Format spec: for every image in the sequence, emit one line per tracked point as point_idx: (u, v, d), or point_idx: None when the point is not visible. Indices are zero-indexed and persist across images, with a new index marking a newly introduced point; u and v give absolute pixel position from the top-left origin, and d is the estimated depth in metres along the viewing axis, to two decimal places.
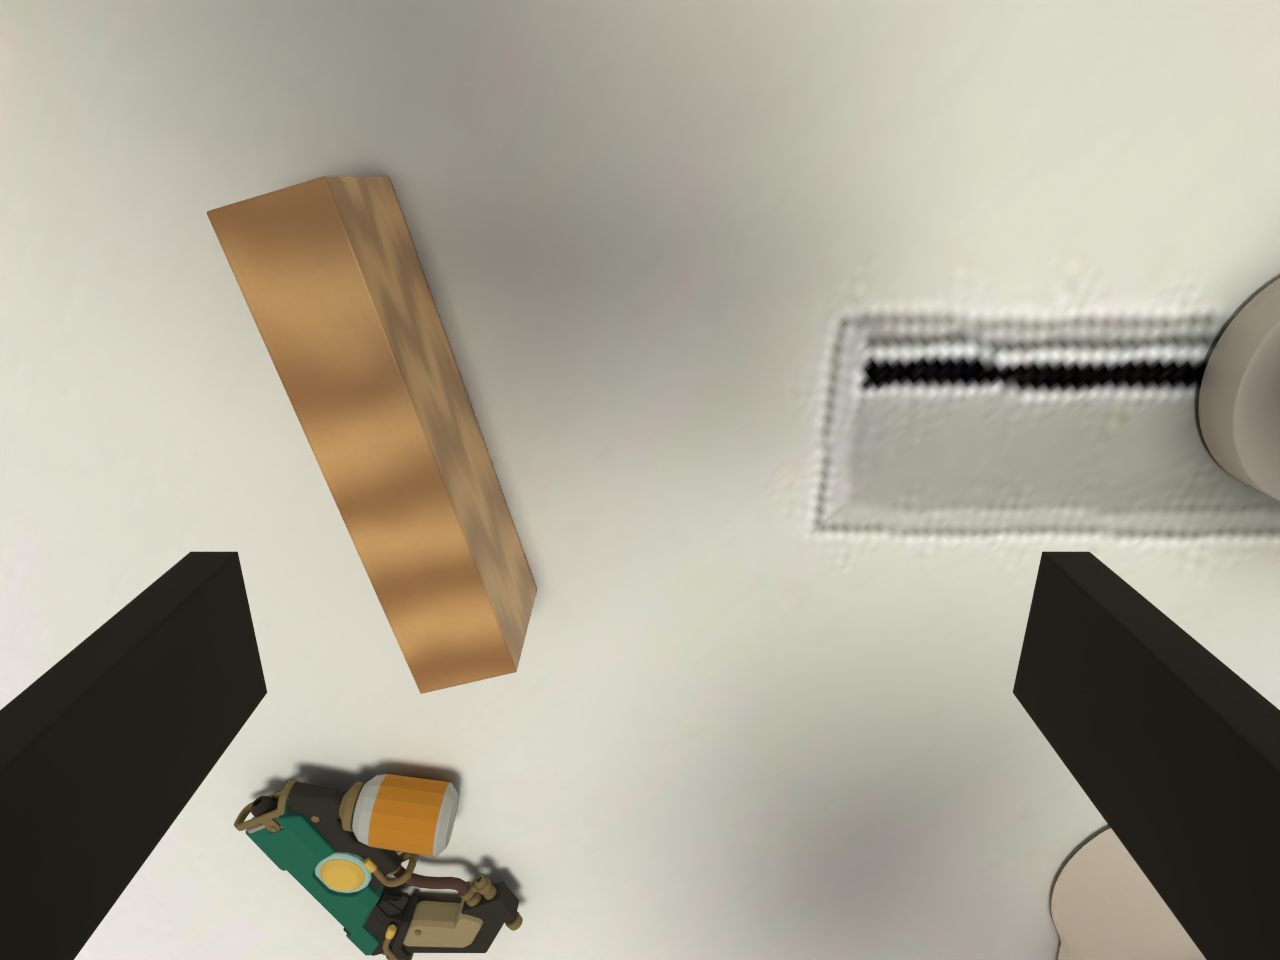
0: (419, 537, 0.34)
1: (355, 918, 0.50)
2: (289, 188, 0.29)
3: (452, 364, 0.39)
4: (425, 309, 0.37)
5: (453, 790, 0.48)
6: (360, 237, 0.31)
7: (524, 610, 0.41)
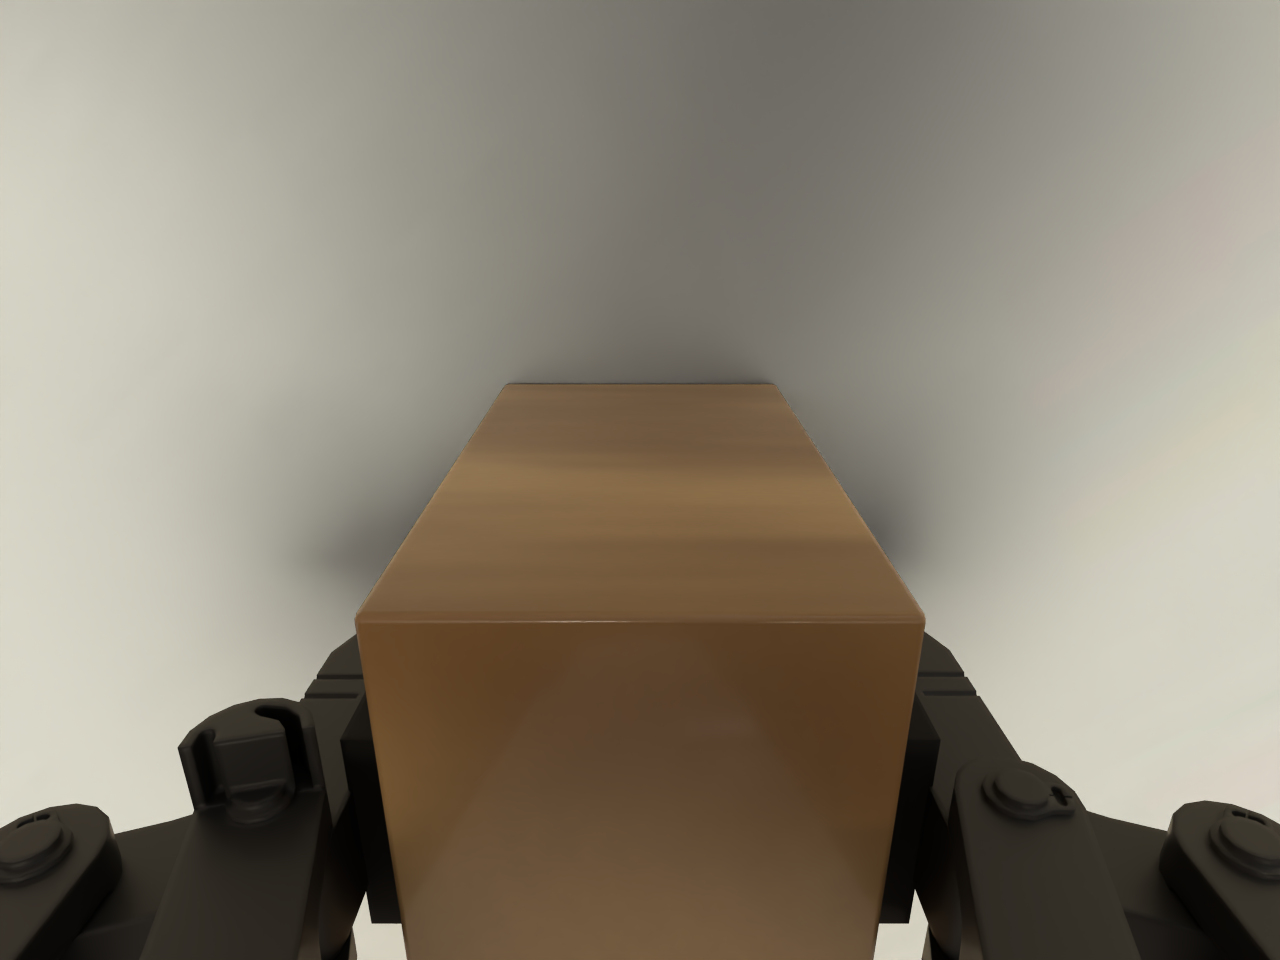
0: None
1: None
2: (754, 623, 0.07)
3: None
4: None
5: None
6: None
7: None
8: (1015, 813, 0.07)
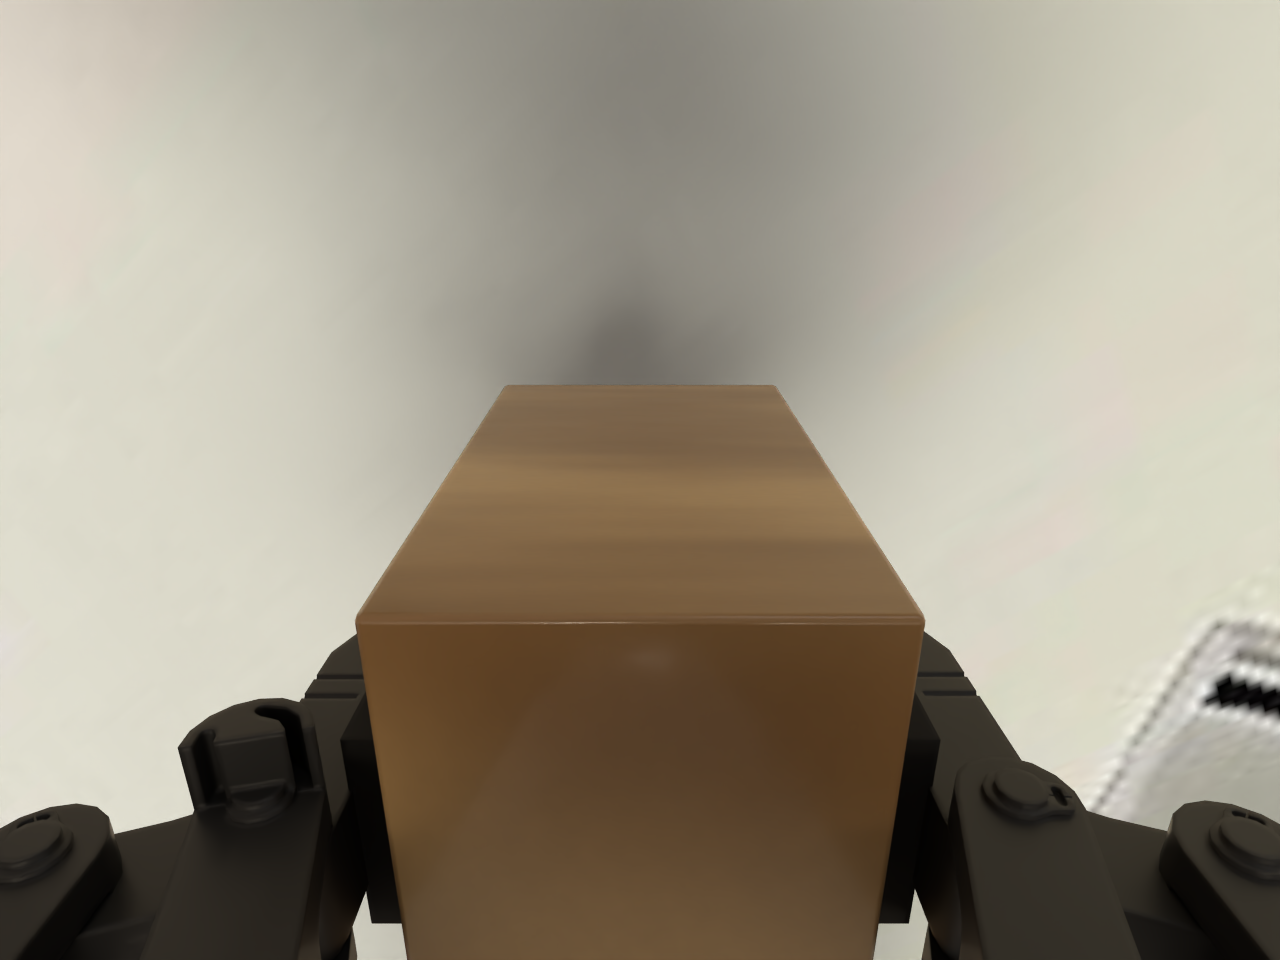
0: None
1: None
2: (752, 624, 0.07)
3: None
4: None
5: None
6: None
7: None
8: (1014, 815, 0.07)
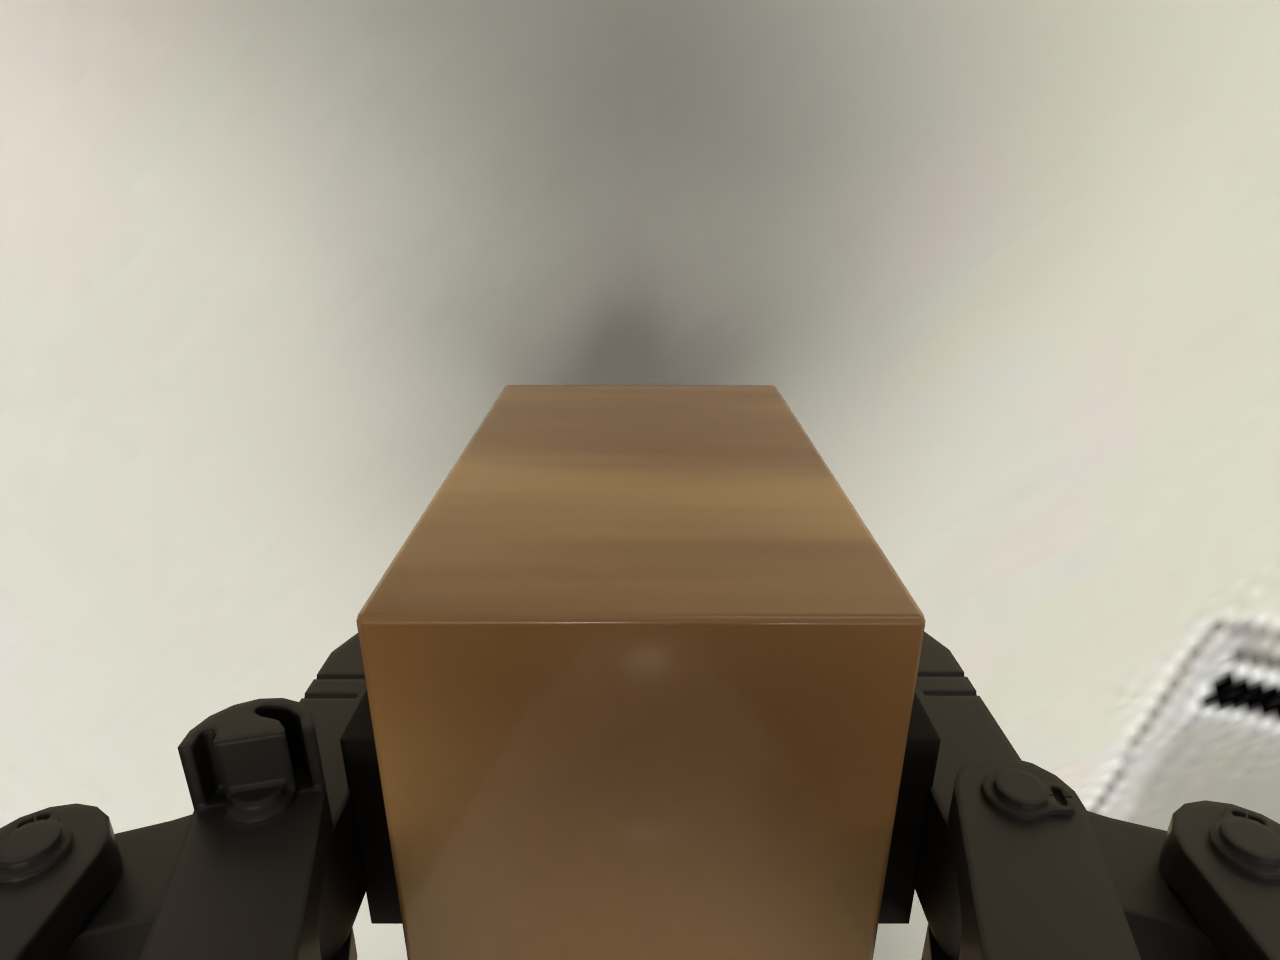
0: None
1: None
2: (753, 625, 0.07)
3: None
4: None
5: None
6: None
7: None
8: (1014, 815, 0.07)
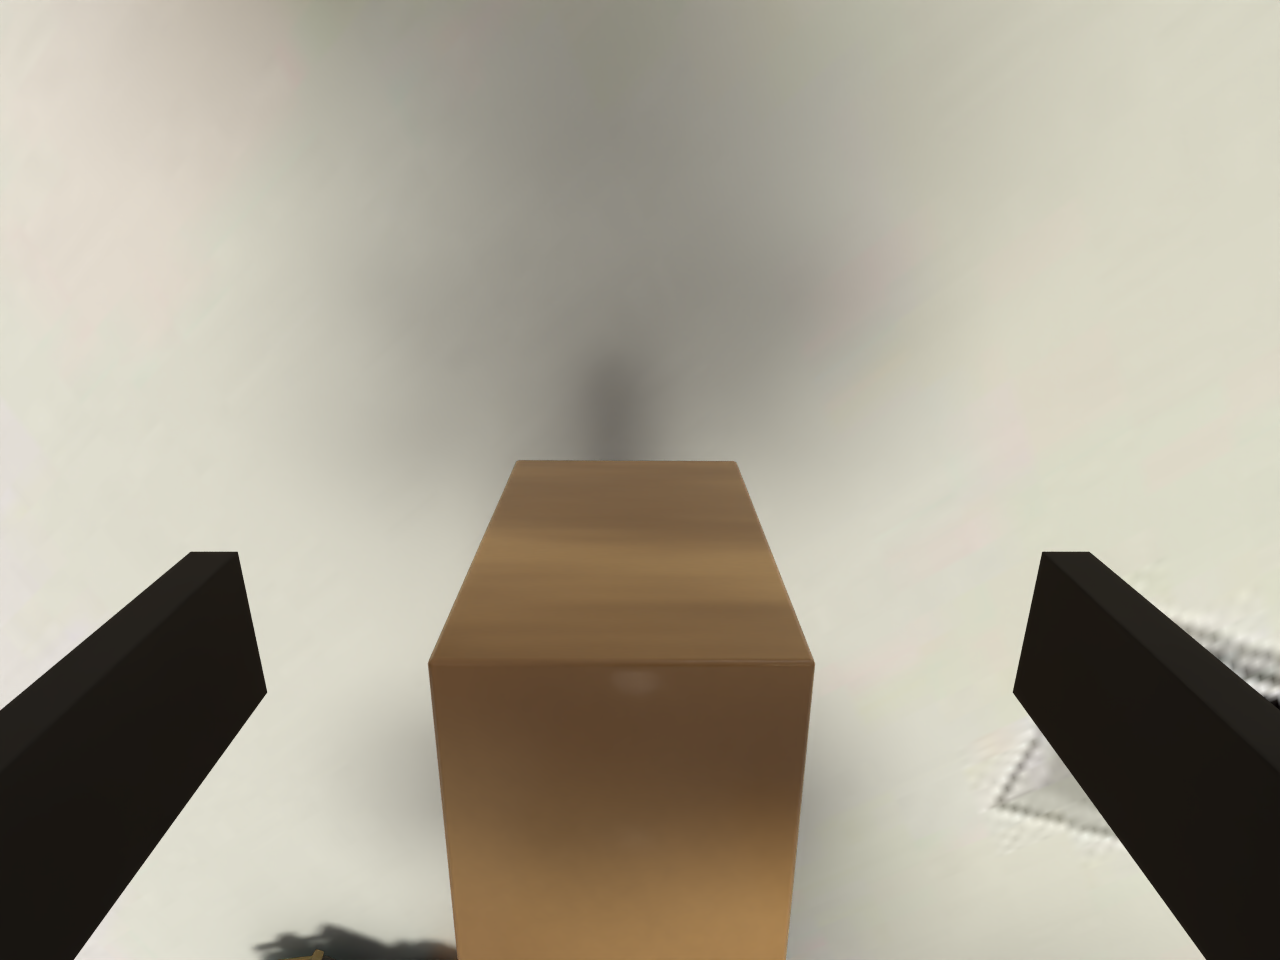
0: None
1: None
2: (697, 667, 0.10)
3: None
4: None
5: None
6: None
7: None
8: None
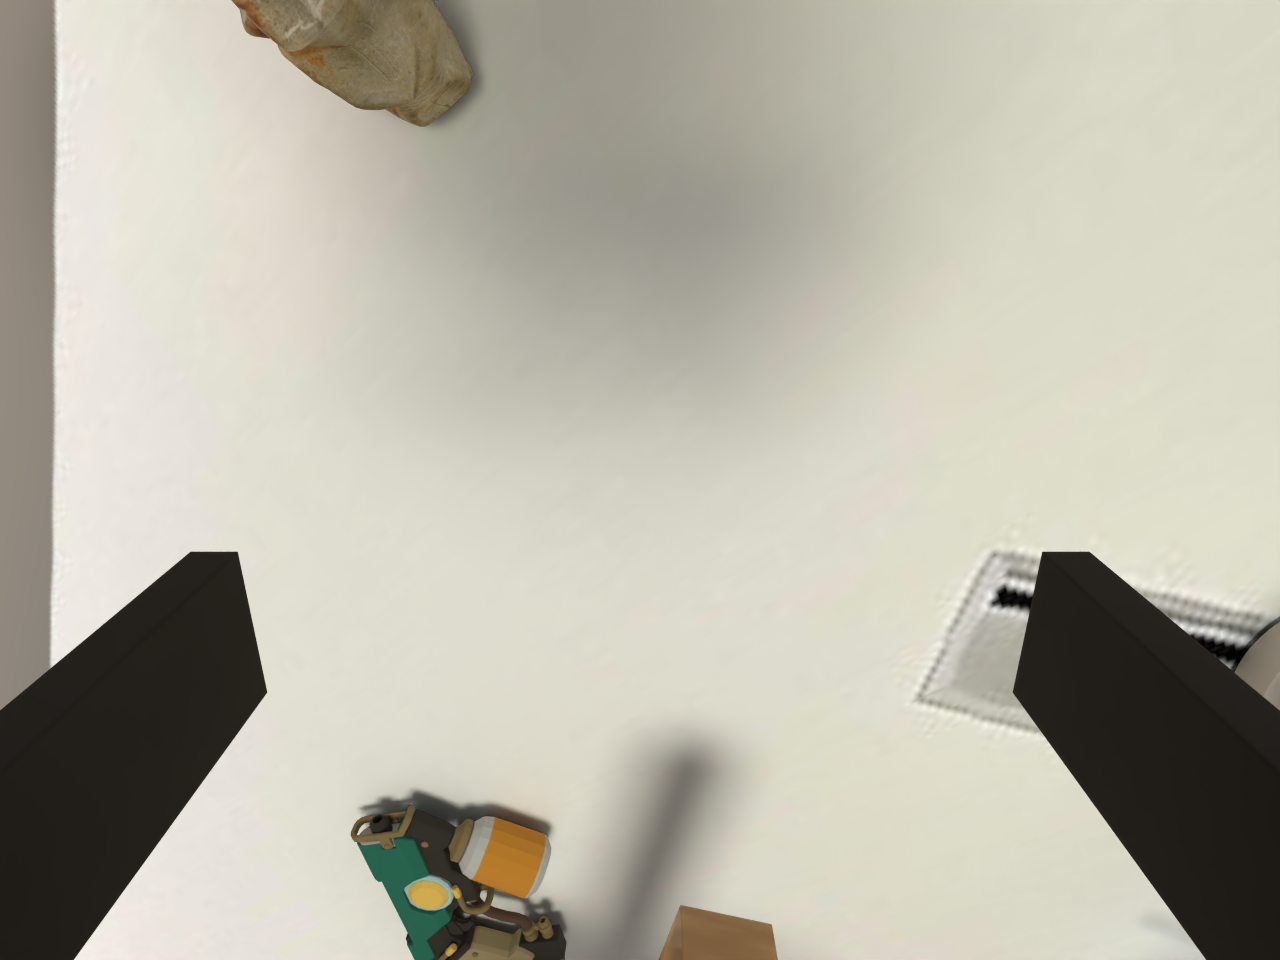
0: None
1: (424, 932, 0.56)
2: None
3: None
4: None
5: (549, 843, 0.54)
6: None
7: None
8: None
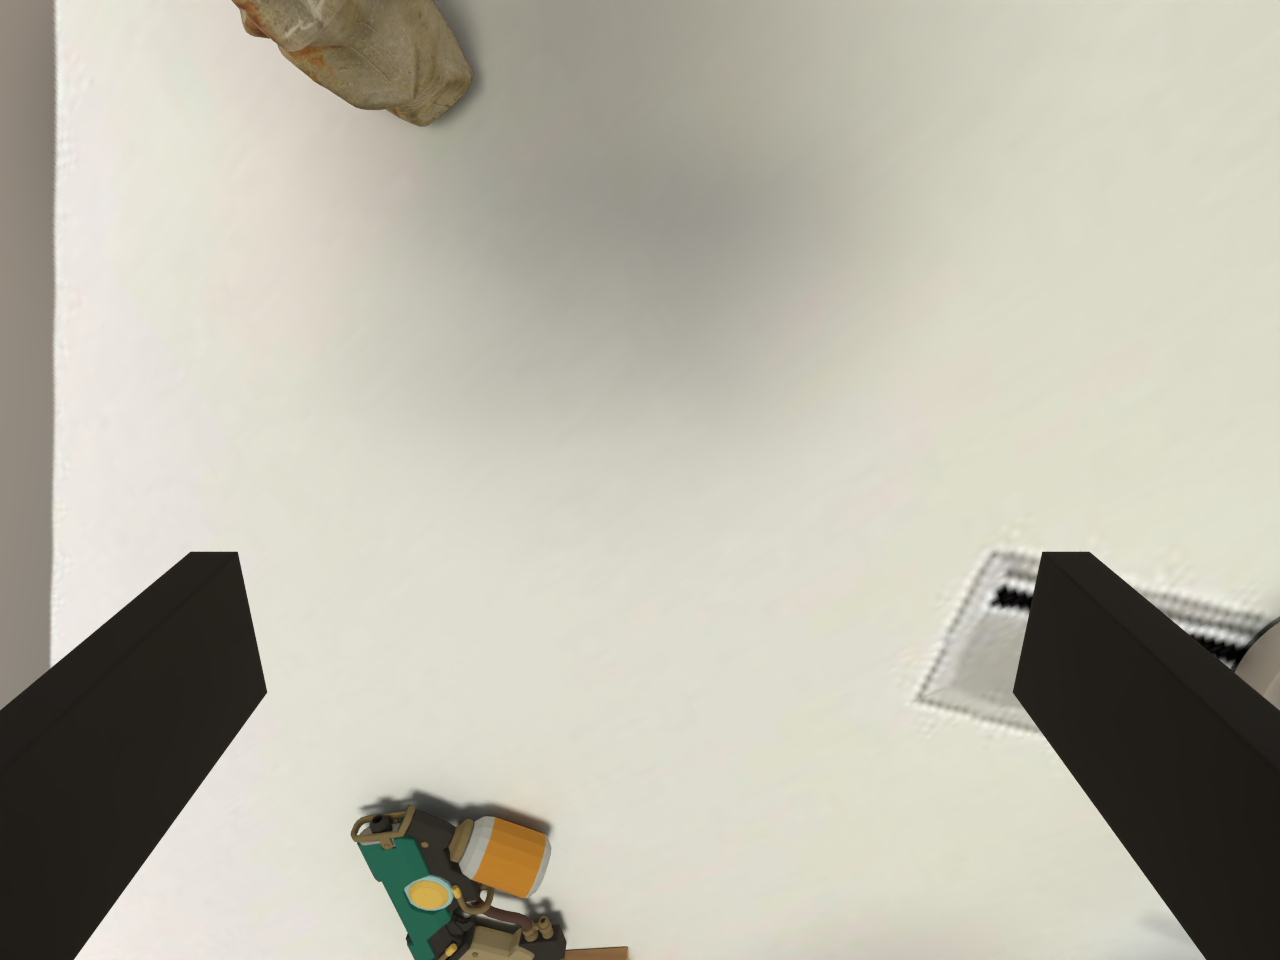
0: None
1: (424, 932, 0.56)
2: None
3: None
4: None
5: (549, 843, 0.54)
6: None
7: None
8: None
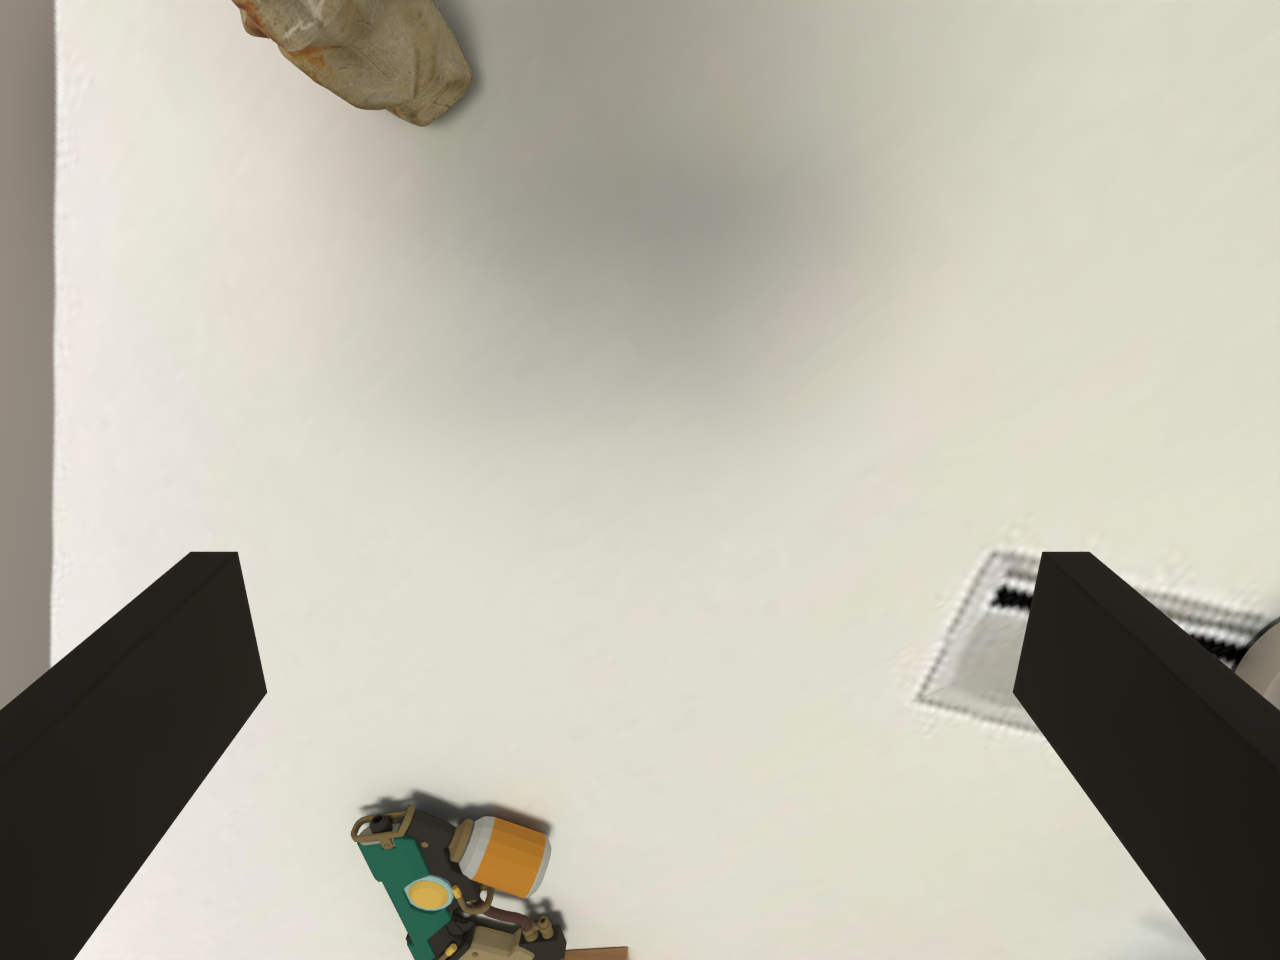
0: None
1: (424, 932, 0.56)
2: None
3: None
4: None
5: (549, 843, 0.54)
6: None
7: None
8: None
